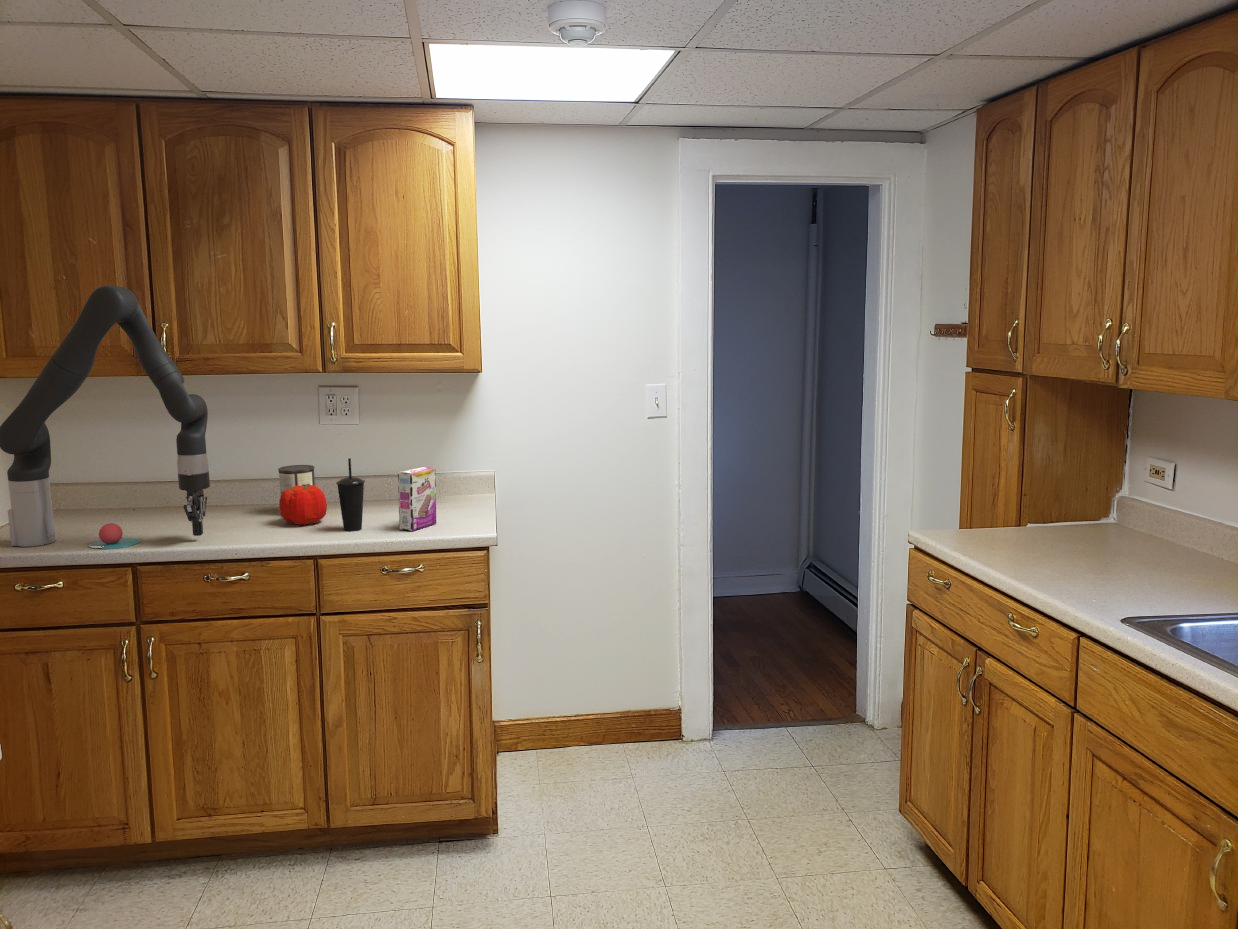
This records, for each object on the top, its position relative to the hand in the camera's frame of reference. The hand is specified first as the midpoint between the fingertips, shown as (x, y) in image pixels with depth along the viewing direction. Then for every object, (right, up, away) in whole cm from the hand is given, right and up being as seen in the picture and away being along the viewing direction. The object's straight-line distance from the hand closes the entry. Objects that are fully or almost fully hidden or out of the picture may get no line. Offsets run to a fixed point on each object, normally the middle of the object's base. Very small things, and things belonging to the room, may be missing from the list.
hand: (198, 535), depth 252 cm
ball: (-21, +1, -3) cm, 22 cm away
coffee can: (+15, +4, +34) cm, 38 cm away
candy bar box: (+55, +1, +15) cm, 57 cm away
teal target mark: (-21, -2, -3) cm, 21 cm away
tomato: (+21, +2, +21) cm, 30 cm away
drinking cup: (+38, 0, +13) cm, 40 cm away
